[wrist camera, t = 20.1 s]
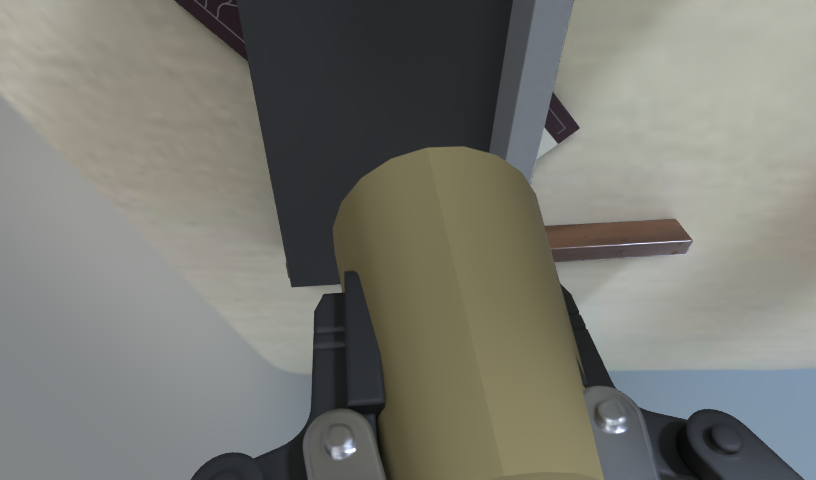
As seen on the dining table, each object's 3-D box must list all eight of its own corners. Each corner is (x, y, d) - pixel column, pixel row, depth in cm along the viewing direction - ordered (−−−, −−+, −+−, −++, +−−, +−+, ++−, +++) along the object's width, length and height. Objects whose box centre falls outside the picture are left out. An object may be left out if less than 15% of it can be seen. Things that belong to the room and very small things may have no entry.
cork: (502, 307, 17) (653, 774, 9) (324, 300, 16) (315, 833, 8) (572, 158, 13) (949, 743, 5) (343, 133, 12) (366, 854, 4)
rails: (187, -317, 15) (169, -330, 13) (925, -277, 18) (985, -284, 16) (290, 253, 31) (288, 279, 29) (669, 232, 34) (686, 254, 32)
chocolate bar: (312, -224, 16) (579, 128, 26) (312, -224, 17) (573, 119, 27) (159, -13, 19) (446, 225, 29) (165, -20, 20) (444, 215, 30)
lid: (170, -364, 13) (136, -396, 11) (610, -337, 14) (662, -360, 12) (292, 280, 29) (288, 321, 27) (491, 267, 31) (504, 306, 28)
